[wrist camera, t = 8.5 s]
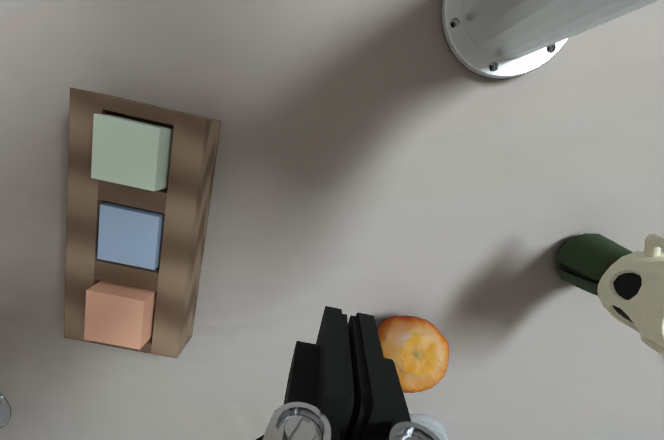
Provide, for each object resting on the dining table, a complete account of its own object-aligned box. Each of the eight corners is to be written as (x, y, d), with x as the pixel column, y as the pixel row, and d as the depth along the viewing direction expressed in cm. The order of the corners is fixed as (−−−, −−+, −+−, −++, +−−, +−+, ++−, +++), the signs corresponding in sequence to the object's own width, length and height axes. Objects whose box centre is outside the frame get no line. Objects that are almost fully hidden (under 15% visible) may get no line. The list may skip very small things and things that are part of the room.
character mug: (546, 217, 36) (664, 261, 23) (612, 205, 36) (766, 243, 23) (549, 305, 39) (656, 386, 26) (610, 294, 38) (748, 371, 26)
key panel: (101, 93, 32) (70, 87, 29) (220, 121, 33) (206, 119, 29) (90, 317, 39) (63, 337, 35) (191, 336, 39) (176, 358, 35)
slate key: (119, 198, 34) (100, 204, 31) (173, 210, 34) (159, 217, 31) (116, 248, 35) (97, 258, 32) (168, 259, 36) (154, 270, 33)
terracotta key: (106, 277, 35) (86, 290, 32) (159, 287, 35) (144, 301, 32) (104, 322, 36) (84, 339, 33) (155, 332, 36) (139, 349, 33)
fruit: (367, 382, 39) (379, 397, 32) (368, 314, 42) (380, 313, 34) (432, 385, 40) (460, 401, 32) (430, 318, 42) (455, 318, 34)
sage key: (116, 115, 30) (93, 113, 28) (176, 129, 31) (160, 128, 28) (112, 174, 32) (91, 177, 29) (170, 186, 32) (154, 191, 29)
